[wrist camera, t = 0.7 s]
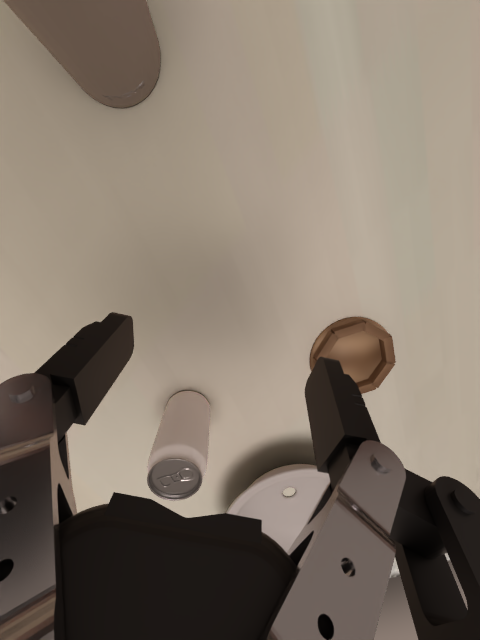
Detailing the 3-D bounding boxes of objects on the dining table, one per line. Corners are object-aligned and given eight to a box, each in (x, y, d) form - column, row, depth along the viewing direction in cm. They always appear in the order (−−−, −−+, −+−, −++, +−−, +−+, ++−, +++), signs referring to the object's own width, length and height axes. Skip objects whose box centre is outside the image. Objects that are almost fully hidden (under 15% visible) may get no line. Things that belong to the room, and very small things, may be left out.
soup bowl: (192, 479, 42) (187, 521, 36) (320, 409, 40) (339, 441, 33) (263, 556, 49) (269, 603, 43) (375, 501, 47) (400, 542, 40)
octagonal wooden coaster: (301, 332, 35) (305, 337, 34) (383, 305, 35) (392, 309, 33) (319, 401, 39) (323, 409, 37) (394, 377, 39) (402, 384, 37)
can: (217, 417, 39) (216, 491, 27) (178, 431, 39) (160, 511, 27) (199, 382, 37) (190, 446, 25) (158, 398, 37) (131, 469, 25)
